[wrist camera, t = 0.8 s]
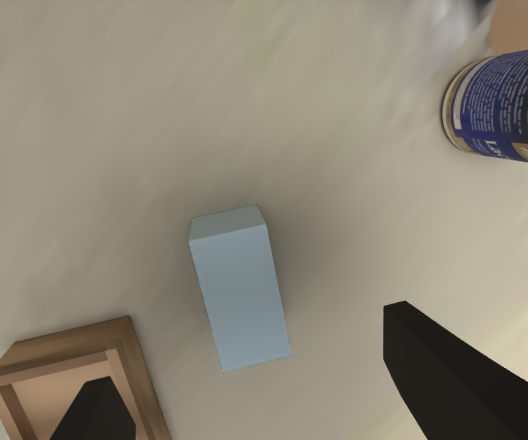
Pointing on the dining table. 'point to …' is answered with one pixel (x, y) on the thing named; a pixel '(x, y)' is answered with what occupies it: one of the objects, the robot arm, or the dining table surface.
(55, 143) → the dining table surface
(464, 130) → the pill bottle
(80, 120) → the dining table surface
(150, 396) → the brown wooden tray
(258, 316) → the blue-grey rectangular block
